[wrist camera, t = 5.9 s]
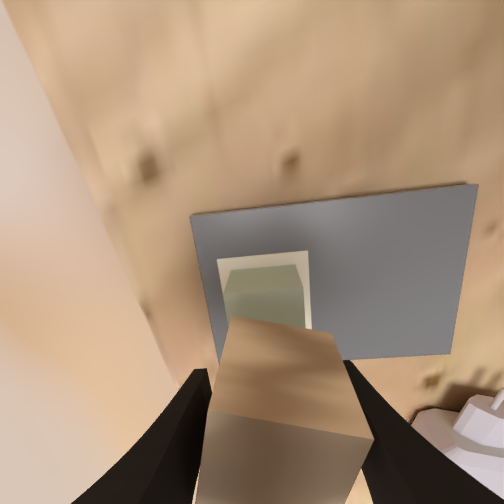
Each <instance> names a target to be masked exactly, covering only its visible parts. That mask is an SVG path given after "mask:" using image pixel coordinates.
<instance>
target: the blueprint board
mask: <svg viewBox="0 0 504 504" xmlns="http://www.w3.org/2000/svg"><path fill="white" fill-rule="evenodd" d="M478 185H479V184H459V185H450V186H441V187H432V188H423V189H415V190H406V191H397V192H388V193H379V194H370V195H361V196H352V197H343V198H335V199H326V200H317V201H308V202H299V203H290V204H281V205H272V206H263V207H255V208H246V209H237V210H228V211H219V212H210V213H201V214H193V215H191V216H190V222H191V227H192V232H193V237H194V242H195V247H196V252H197V257H198V262H199V267H200V272H201V277H202V282H203V287H204V292H205V297H206V302H207V307H208V312H209V317H210V322H211V327H212V332H213V337H214V342H215V347H216V352H217V357H218V362H219V364H220V360H221V356H222V352H223V348H224V344H225V340H226V336H227V332H228V328H229V327H228V321H227V315H226V310H225V304H224V298H223V293H224V290H225V287H226V284H227V281H228V278H229V275H230V272H231V270H238V269H249V268H260V267H271V266H282V265H293V264H295V265H296V268H297V270H298V273H299V276H300V279H301V282H302V285H303V289H304V306H305V324H306V328H307V329H312V330H318V331H324V332H330V333H332V335H333V338H334V340H335V343H336V345H337V348H338V350H339V353H340V355H341V358H342V360H356V359H374V358H391V357H409V356H426V355H444V354H450V353H451V347H452V341H453V335H454V329H455V323H456V317H457V311H458V305H459V299H460V293H461V287H462V281H463V275H464V269H465V263H466V257H467V251H468V245H469V239H470V233H471V227H472V221H473V215H474V209H475V203H476V197H477V191H478Z"/></svg>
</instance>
